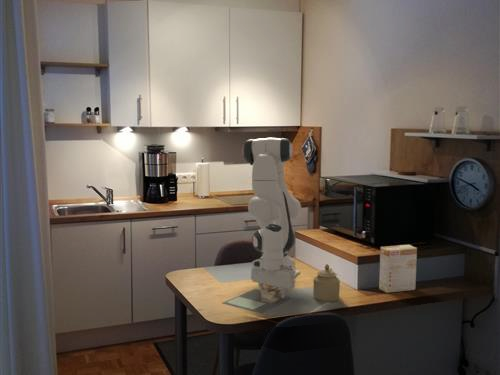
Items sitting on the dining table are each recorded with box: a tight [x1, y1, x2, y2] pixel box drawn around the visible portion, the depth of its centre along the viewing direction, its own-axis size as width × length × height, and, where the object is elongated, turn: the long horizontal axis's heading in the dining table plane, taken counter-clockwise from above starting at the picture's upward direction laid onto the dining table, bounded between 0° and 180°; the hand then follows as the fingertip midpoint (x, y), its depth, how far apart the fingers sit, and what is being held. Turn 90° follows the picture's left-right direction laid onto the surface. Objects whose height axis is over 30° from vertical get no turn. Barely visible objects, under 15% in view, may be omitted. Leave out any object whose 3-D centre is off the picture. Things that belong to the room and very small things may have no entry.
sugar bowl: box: [312, 264, 341, 303], centre depth 246 cm, size 15×11×15 cm
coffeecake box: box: [378, 244, 418, 294], centre depth 257 cm, size 15×7×20 cm, turn 108°
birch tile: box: [261, 286, 282, 303], centre depth 241 cm, size 10×5×4 cm, turn 144°
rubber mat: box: [222, 288, 294, 314], centre depth 240 cm, size 24×20×1 cm
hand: (272, 295), depth 241 cm, fingers open, 8 cm apart
